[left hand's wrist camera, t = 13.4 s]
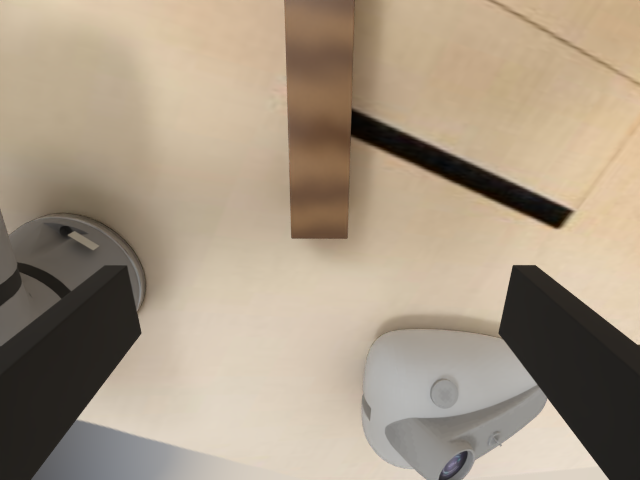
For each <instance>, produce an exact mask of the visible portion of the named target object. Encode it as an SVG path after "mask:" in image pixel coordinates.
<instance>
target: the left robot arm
mask: <svg viewBox="0 0 640 480" xmlns="http://www.w3.org/2000/svg"><path fill="white" fill-rule="evenodd" d="M145 286H146V285H145V276H144V272H143V268H142V266H141V263H140V261H139V259H138V257H137V256H136V254H135V253H134V251H133V250H132V248H131V247H130V246H129V245H128V244H127V242H126V241H125V240H124V239H123V238H122V237H121V236H119V235H118V234H117V233H116V232H114V231H113V230H112V229H110V228H109V227H107V226H105V225H103V224H102V223H100V222H98V221H95V220H93V219H90V218H87V217H84V216H80V215H75V214H65V213H59V214H50V215H46V216H42V217H39V218H37V219H35V220H32V221H30V222H28V223H26V224H24V225H22V226H20V227H19V228H18V229H16V230H15V231H14V232H12V233H11V234H10V235H9V236H8V233H7V230H6V226H5V223H4V220H3V217H2V214H1V210H0V480H31V479H32V477H33V476H34V475H35V473H36V472H37V471H38V469H39V468H40V467H41V465H42V464H43V463H44V462H45V460H46V459H47V458H48V456H49V455H50V454H51V452H52V451H53V450H54V448H55V447H56V446H57V444H58V443H59V442H60V440H61V439H62V438H63V436H64V435H65V434H66V432H67V431H68V430H69V428H70V427H71V426H72V425H73V423H74V422H75V421H76V419H77V418H78V417H79V415H80V414H81V413H82V411H83V410H84V409H85V407H86V406H87V405H88V403H89V402H90V401H91V399H92V398H93V397H94V395H95V394H96V393H97V391H98V390H99V389H100V387H101V386H102V385H103V383H104V382H105V381H106V380H107V378H108V377H109V376H110V374H111V373H112V372H113V370H114V369H115V368H116V366H117V365H118V364H119V362H120V361H121V360H122V358H123V357H124V356H125V354H126V353H127V352H128V350H129V349H130V348H131V346H132V345H133V344H134V342H135V341H136V340H137V339H138V337H139V336H140V335H141V329H140V324H139V319H138V314H137V311H138V310H139V308H140V307H141V305H142V302H143V299H144V296H145ZM499 335H500V336H501V337H502V339H503V340H504V341H505V342H506V344H507V345H508V346H509V348H510V349H511V350H512V352H513V353H514V354H515V356H516V357H517V358H518V360H519V361H520V362H521V364H522V365H523V366H524V368H525V369H526V370H527V372H528V373H529V374H530V376H531V377H532V378H533V380H534V381H535V382H536V383H537V385H538V386H539V387H540V389H541V390H542V391H543V393H544V394H545V395H546V397H547V398H548V399H549V401H550V402H551V403H552V405H553V406H554V407H555V409H556V410H557V411H558V413H559V414H560V415H561V417H562V418H563V419H564V421H565V422H566V423H567V425H568V426H569V427H570V428H571V430H572V431H573V432H574V434H575V435H576V436H577V438H578V439H579V440H580V442H581V443H582V444H583V446H584V447H585V448H586V450H587V451H588V452H589V454H590V455H591V456H592V458H593V459H594V460H595V462H596V463H597V464H598V466H599V467H600V468H601V469H602V471H603V472H604V473H605V475H606V476H607V477H608V479H609V480H640V345H637V344H636V343H634V342H633V341H632V340H630V339H629V338H628V337H627V336H625V335H624V334H623V333H622V332H620V331H619V330H618V329H616V328H615V327H614V326H613V325H611V324H610V323H609V322H607V321H606V320H605V319H604V318H602V317H601V316H600V315H598V314H597V313H596V312H595V311H593V310H592V309H591V308H589V307H588V306H587V305H586V304H584V303H583V302H582V301H581V300H579V299H578V298H577V297H575V296H574V295H573V294H572V293H570V292H569V291H568V290H566V289H565V288H564V287H563V286H561V285H560V284H559V283H557V282H556V281H555V280H554V279H552V278H551V277H550V276H549V275H547V274H546V273H545V272H543V271H542V270H541V269H540V268H538V267H537V266H536V265H513V267H512V272H511V277H510V281H509V286H508V291H507V296H506V300H505V305H504V310H503V314H502V319H501V324H500V329H499Z"/></svg>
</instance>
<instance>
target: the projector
mask: <svg viewBox="0 0 640 480" xmlns="http://www.w3.org/2000/svg"><path fill="white" fill-rule="evenodd" d="M546 401H547V397H546V395H545V394H544V393H543V391H542V390H541V389H540V387H539V386H538V385H537V383H536V382H535V381H534V380H533V378H532V377H531V376H530V374H529V373H528V372H527V370H526V369H525V368H524V366H523V365H522V364H521V362H520V361H519V360H518V358H517V357H516V356H515V354H514V353H513V352H512V350H511V349H510V348H509V346H508V345H507V344H506V342H505V341H504V340H503V339H501V338H497V337H493V336H488V335H483V334H477V333H470V332H462V331H452V330H437V329H404V330H396V331H390V332H387V333H385V334H383V335H381V336H380V337H379V338H377V339H376V341H375V342H374V343H373V344H372V346H371V348H370V350H369V353H368V356H367V360H366V364H365V370H364V379H363V396H362V425H363V430H364V433H365V436H366V439H367V441H368V443H369V444H370V446H371V447H372V449H373V450H374V451H375V452H376V454H377V455H378V456H380V457H381V458H382V459H383V460H385V461H386V462H388V463H390V464H392V465H394V466H397V467H401V468H406V469H415V470H416V471H417V472H418V473H419V474H420V475H422V476H423V477H424V478H425V479H426V480H462V479H463V478H464V477H465V476H466V475H467V474H468V472H469V471H470V469H471V468H472V466H473V464H474V461H475V460H476V459H478V458H479V457H481V456H483V455H484V454H486V453H487V452H489V451H491V450H492V449H494V448H495V447H497V446H498V445H500V446H502V445H501V443H503V442H504V441H506V440H507V439H508V438H510V437H511V436H513V435H514V434H515V433H517V432H518V431H519V430H520V429H522V428H523V427H524V426H525V425H527V424H528V423H529V422H530V421H531V420H533V419H534V418H535V417H536V416H537V415H538V414H539V413H540V412H541V411H542V409H543V408H544V406H545V403H546Z"/></svg>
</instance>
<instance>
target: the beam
mask: <svg viewBox="0 0 640 480" xmlns="http://www.w3.org/2000/svg"><path fill="white" fill-rule="evenodd" d="M284 1H285V35H286V70H287V104H288V138H289V172H290V206H291V238H317V239H347V237H348V204H349V171H350V138H351V105H352V72H353V39H354V6H355V0H284Z"/></svg>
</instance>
